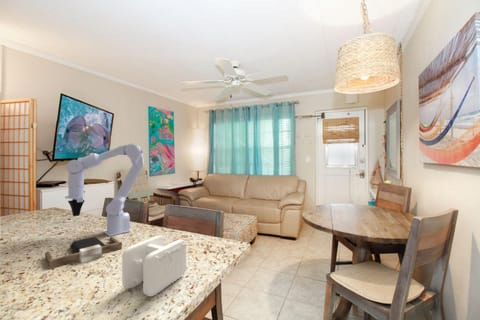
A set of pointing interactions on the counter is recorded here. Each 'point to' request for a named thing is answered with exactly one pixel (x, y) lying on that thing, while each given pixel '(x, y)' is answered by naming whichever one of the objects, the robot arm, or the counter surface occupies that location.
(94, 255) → the charging dock
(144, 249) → the cable organizer
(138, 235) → the counter surface
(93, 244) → the black rounded slab
